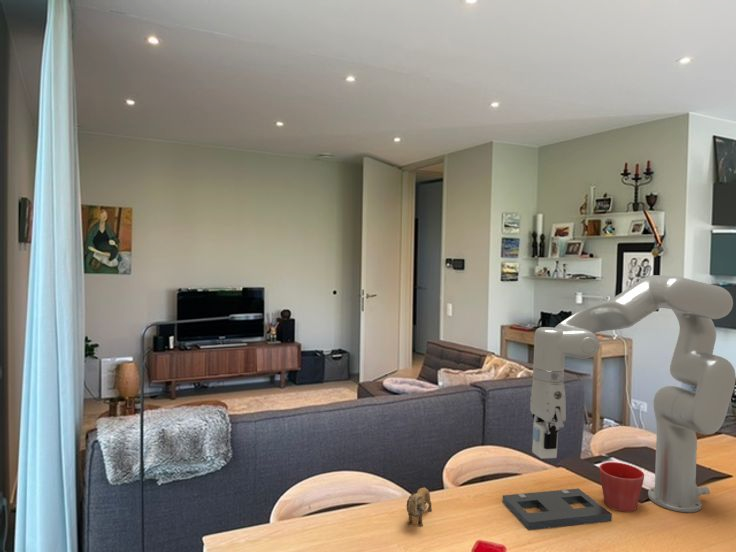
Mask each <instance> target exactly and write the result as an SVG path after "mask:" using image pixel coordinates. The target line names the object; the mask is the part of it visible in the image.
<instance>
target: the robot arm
mask: <svg viewBox="0 0 736 552" xmlns="http://www.w3.org/2000/svg"><path fill="white" fill-rule="evenodd" d="M733 306H734V300H733V297H732V295H731V293H730V292H729V290H727V289H726V288H724V287H722V286H719V285H715V284H714V285H713V284H710V283H706V282H703V281H698V280H695V279H690V278H685V277H682V276H677V275H675V276H673V275H655V274H654V275H649V276H646V277H644V278H642V279H640V280H639V281H638V282H636V283H634V284H633V285H631V286H629V287H628V288H627V289H625V290H624V291H622V292H620V293H619V294H617V295H615V296H613V298H611V299H609V300H607V301H604V302H601V303H598V304H596V305H593V306H591V307H587V308H585V309H582V310H579V311H577V312H575V313H574V314H572V315H569V317H567V318H565V319H564V320H562V321H561V322H560V323H558V324H557V325H556V326H555V327H552V326H551V327H550V326H548V327H547V326H543V327H542V326H541V327H538V328H536V330H535V332H534V346H533V363H532V365H533V366H532V383H531V384H532V385H531V390H530V391H531V392H530V402H529V405H530V406H529V407H530V409H529V410H530V412H531V415H532V416H531V417H532V419H533V422H532V423H533V424H532V425H534V422H546V433H545V437H544V448H545V449H556V446H557V447H558V441H557V434H558V435H559V432H560V431H561V430H562V429H564V428H565V425H564V423H565V422H566V421H567V420H566V418H567V398H566V388H565V384H564V378H565V377H564V376H565V358H566V357H571V358H577V359H588V358H589V359H590V358H591V357H593V356H595V355H596V354H598V352H599V350H600V346H601V343H600V339H599V338H598V336H597V334H596V333H601V332H607V331H616V330H617V331H618V330H622V329H623V330H624V329H627V328H628V329H629V328H631V327H633V326H634V325H635V324H637V323H638V322H640V321H641V320H643V319H645V318H646V317H647V316H650V315H651V314H652V313H655V311H657V310H658V309H667V310H668V309H670V310H672V312H673V313H674V315H675V317H676V318H677V321H678V325H679V330H678V331H679V332H678V337H677V339H676V340H677V341H676V343H675V348H674V351H673V354H672V356H671V357H672V359H671V361H670V366H669V372H670V375H671V377H672V378H673V379H675V381H677V382H680V383H682V384H685V385H687V386H690V387H693V388H696V389H695V391H692V390H688V389H687V388H683V387H679V386H674V385H667V386H664V387H662V388H660V389H659V390H657V392H656V393H655V395H654V398H653V403H652V404H653V411H654V416H655V424H656V440H655V441H656V442H655V465H654V466H655V468H654V469H655V471H654V472H655V473H654V487H651V488H649V489H648V491H647V492H648V493H647V496H648V497H647V498H649V500H650V501H652V502H653V503H654V504H656V505H658V506H659V507H662V508H665V509H668V510H670V511H675V512H681V513H697V512H698V511H700V510H702V504H703V503H702V501H701V500H700V499H699V497H701V495H702V496H704V495H710V493H711V491H710V488H709V487H708V486H700V487H698V485H697V484H696V477H697V454H698V453H697V450H698V439H697V433H698V434H701V435H713V434H715V433H716V432H718V431H719V430H720V429H721V427H722V426H723V424H724V423H725V419H726V417H727V413H728V411H729V406H730V403H731V399H732V397H733V393H734V390H735V386H736V370H735V368H734V366H733V364H732V363H731V362H730V361H729V360H728V359H727V358H724V357H722V356H719V355H716V354H714V351H715V350H714V349H715V344H716V340H717V339H716V338H717V329H716V326H715V324H714V322H713V320H718V319H719V320H720V319H722V318H724V317H727V316H728V315H729V314H730V312H731V311H732V309H733ZM550 424H554V426H552V427H551V428H550Z"/></svg>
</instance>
